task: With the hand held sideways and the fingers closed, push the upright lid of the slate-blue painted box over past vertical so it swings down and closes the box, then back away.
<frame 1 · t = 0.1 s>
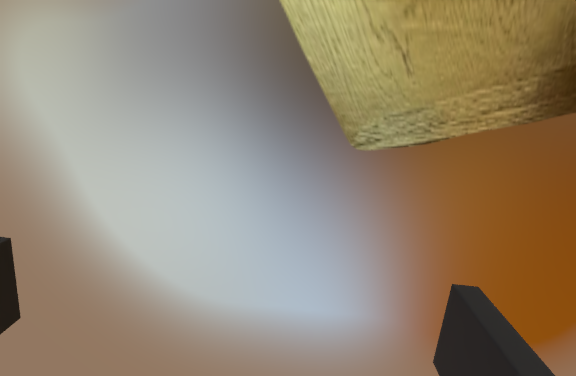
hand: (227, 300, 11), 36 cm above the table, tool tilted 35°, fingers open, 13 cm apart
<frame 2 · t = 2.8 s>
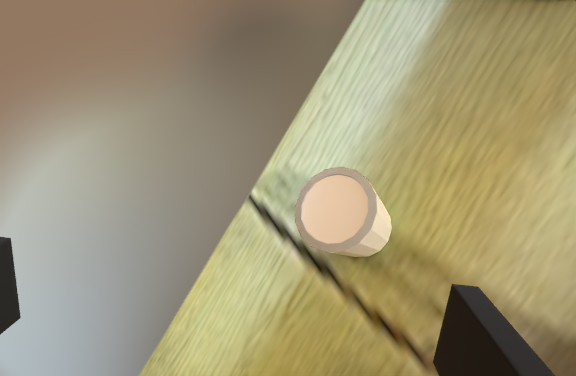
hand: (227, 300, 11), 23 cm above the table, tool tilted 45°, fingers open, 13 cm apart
cream tapered cup: (362, 227, 34), on the table
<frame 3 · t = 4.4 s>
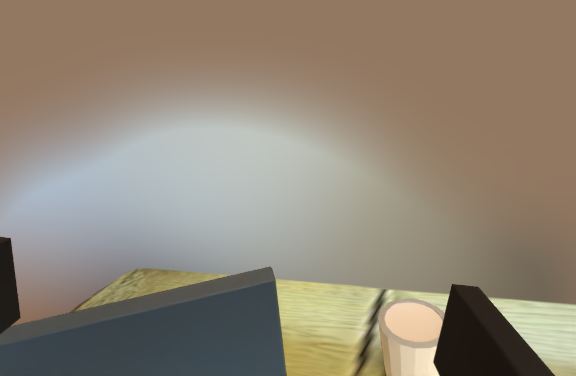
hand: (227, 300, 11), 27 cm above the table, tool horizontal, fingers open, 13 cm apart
cream tapered cup: (412, 373, 39), on the table
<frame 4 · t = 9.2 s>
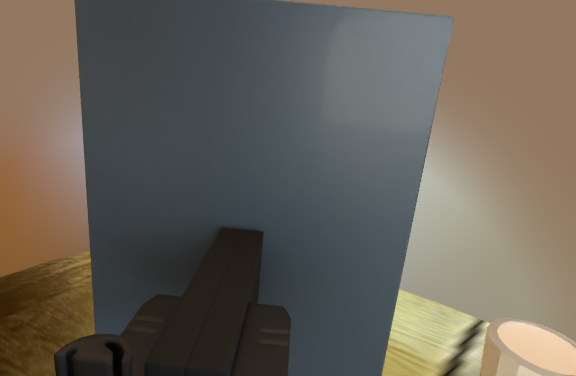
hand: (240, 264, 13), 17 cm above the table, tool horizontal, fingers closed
lid: (247, 230, 14), point 18 cm above the table, hinge at 90.3°, touching gripper
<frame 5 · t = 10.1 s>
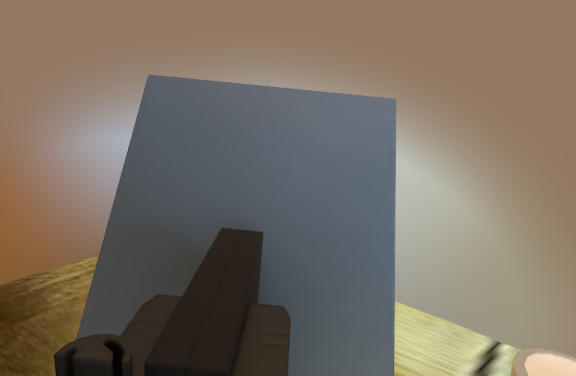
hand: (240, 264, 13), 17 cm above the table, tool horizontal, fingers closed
lid: (249, 254, 15), point 17 cm above the table, hinge at 54.9°, touching gripper
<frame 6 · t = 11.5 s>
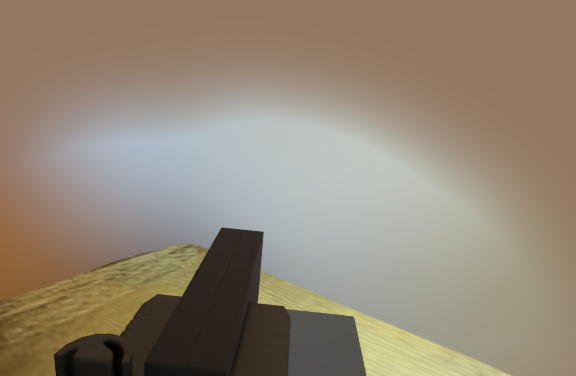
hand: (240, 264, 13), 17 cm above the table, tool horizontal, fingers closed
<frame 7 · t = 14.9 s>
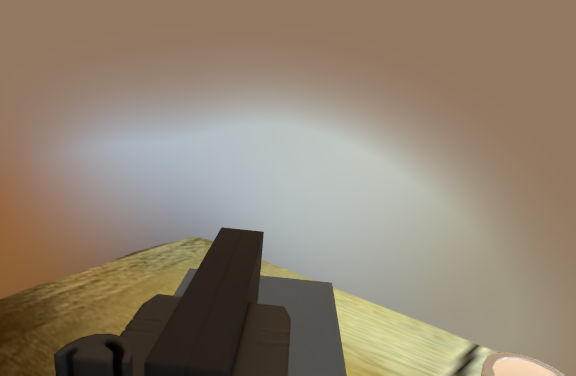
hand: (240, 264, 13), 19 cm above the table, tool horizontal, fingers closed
lid: (247, 344, 22), point 10 cm above the table, hinge at -0.2°
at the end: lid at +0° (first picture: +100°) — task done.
